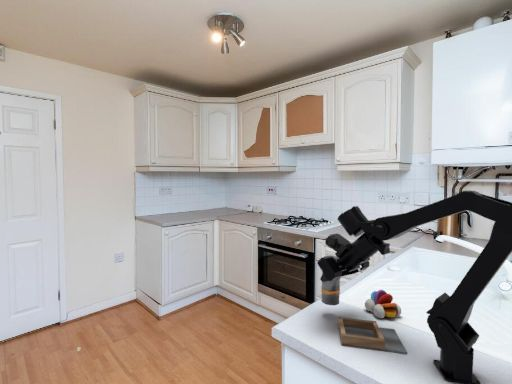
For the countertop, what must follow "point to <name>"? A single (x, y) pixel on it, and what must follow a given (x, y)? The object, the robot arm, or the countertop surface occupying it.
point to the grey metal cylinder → (331, 290)
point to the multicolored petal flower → (382, 305)
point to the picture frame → (368, 335)
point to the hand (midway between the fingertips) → (327, 278)
